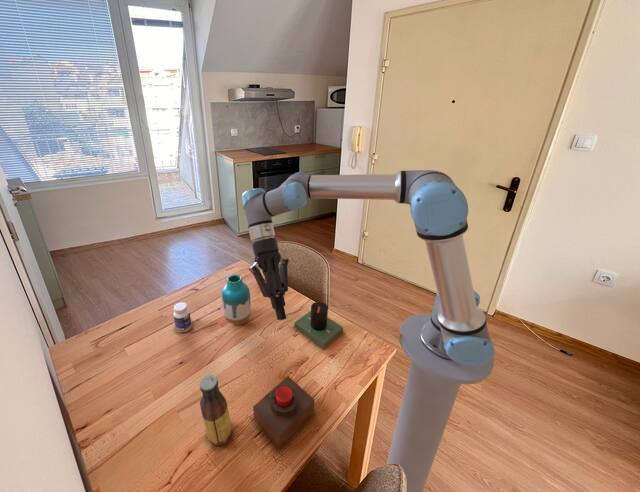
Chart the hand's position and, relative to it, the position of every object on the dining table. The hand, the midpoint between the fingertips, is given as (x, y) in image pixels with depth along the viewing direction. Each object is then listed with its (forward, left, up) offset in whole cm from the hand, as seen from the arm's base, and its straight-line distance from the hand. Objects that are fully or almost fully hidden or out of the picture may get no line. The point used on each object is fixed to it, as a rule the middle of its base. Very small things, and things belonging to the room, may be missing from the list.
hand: (281, 319), depth 84 cm
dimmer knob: (-11, -19, -18) cm, 28 cm away
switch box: (-3, +14, -21) cm, 25 cm away
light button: (-3, +14, -14) cm, 20 cm away
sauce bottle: (+13, +21, -21) cm, 33 cm away
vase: (+20, -20, -21) cm, 35 cm away
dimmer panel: (-11, -19, -21) cm, 30 cm away
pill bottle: (+39, -13, -21) cm, 46 cm away
